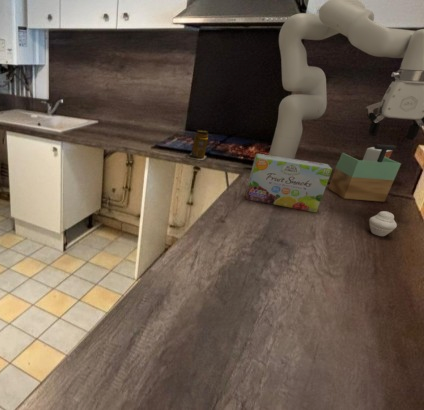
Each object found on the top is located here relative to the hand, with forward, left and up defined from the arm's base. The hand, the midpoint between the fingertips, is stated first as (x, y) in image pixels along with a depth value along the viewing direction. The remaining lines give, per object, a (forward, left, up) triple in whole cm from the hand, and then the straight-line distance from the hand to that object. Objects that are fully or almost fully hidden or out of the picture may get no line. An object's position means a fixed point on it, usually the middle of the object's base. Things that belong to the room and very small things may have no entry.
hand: (390, 137), depth 108 cm
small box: (+24, +34, -24) cm, 48 cm away
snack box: (-27, -1, -24) cm, 36 cm away
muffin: (-6, -18, -24) cm, 31 cm away
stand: (+7, +14, -24) cm, 29 cm away
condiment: (-43, +49, -24) cm, 70 cm away
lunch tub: (+7, +14, -16) cm, 22 cm away
